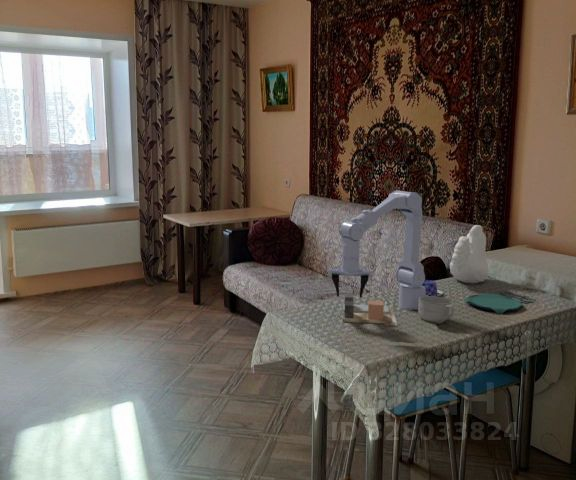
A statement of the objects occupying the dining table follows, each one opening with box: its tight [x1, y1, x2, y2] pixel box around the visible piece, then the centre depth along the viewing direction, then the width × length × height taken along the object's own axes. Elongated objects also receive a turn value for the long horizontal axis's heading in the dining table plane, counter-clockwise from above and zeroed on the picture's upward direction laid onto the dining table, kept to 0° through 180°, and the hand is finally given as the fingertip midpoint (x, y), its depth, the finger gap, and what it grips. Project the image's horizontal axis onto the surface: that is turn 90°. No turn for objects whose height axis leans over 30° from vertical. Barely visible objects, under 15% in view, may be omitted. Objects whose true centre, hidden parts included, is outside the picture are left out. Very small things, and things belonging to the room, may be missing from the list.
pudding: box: [422, 279, 444, 297], centre depth 235 cm, size 12×12×5 cm
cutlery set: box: [465, 290, 539, 314], centre depth 222 cm, size 20×30×2 cm, turn 126°
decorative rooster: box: [449, 224, 489, 284], centre depth 251 cm, size 25×16×25 cm, turn 126°
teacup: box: [417, 295, 455, 325], centre depth 198 cm, size 14×11×8 cm
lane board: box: [347, 306, 398, 326], centre depth 203 cm, size 18×20×1 cm
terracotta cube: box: [367, 300, 385, 319], centre depth 197 cm, size 5×5×5 cm
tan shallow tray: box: [342, 300, 391, 324], centre depth 198 cm, size 16×7×5 cm, turn 84°
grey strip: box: [342, 292, 389, 314], centre depth 208 cm, size 16×7×5 cm, turn 84°
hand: (349, 296), depth 197 cm, fingers open, 7 cm apart
